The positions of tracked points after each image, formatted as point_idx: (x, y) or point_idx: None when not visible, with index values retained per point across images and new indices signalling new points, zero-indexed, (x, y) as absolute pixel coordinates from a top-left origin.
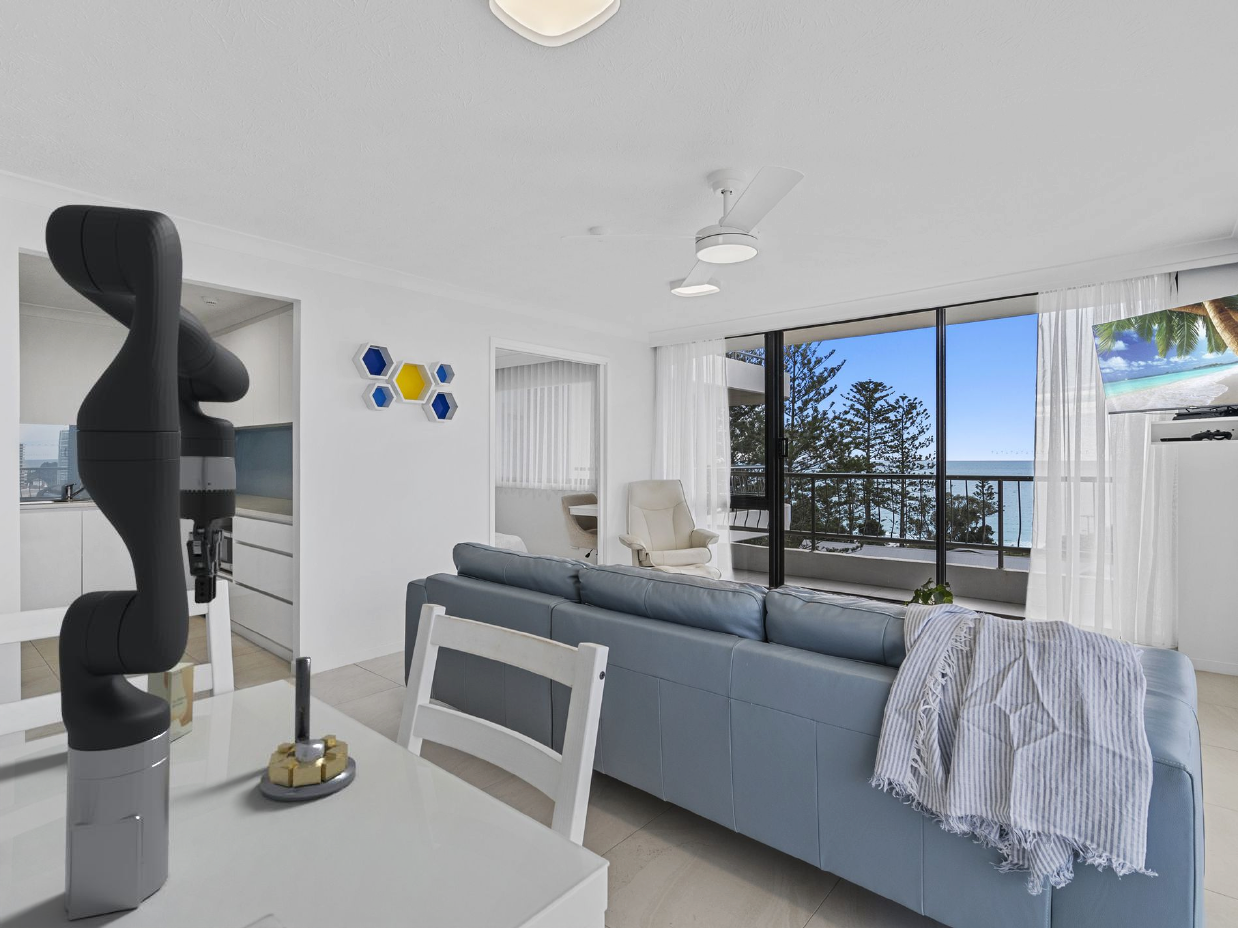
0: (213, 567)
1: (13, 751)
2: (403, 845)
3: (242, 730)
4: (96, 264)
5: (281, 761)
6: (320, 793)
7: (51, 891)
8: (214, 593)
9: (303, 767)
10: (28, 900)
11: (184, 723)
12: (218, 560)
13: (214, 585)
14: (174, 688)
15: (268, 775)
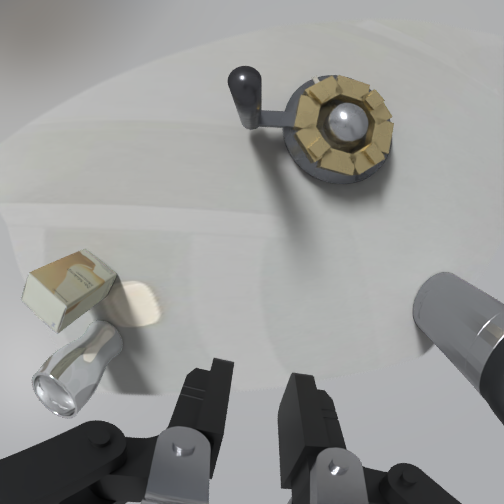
0: (322, 490)
1: None
2: (489, 108)
3: (111, 190)
4: None
5: (375, 163)
6: None
7: (410, 342)
8: (231, 374)
9: (387, 141)
10: (411, 352)
11: (89, 261)
12: (102, 469)
13: (227, 399)
14: (76, 291)
15: (326, 172)
